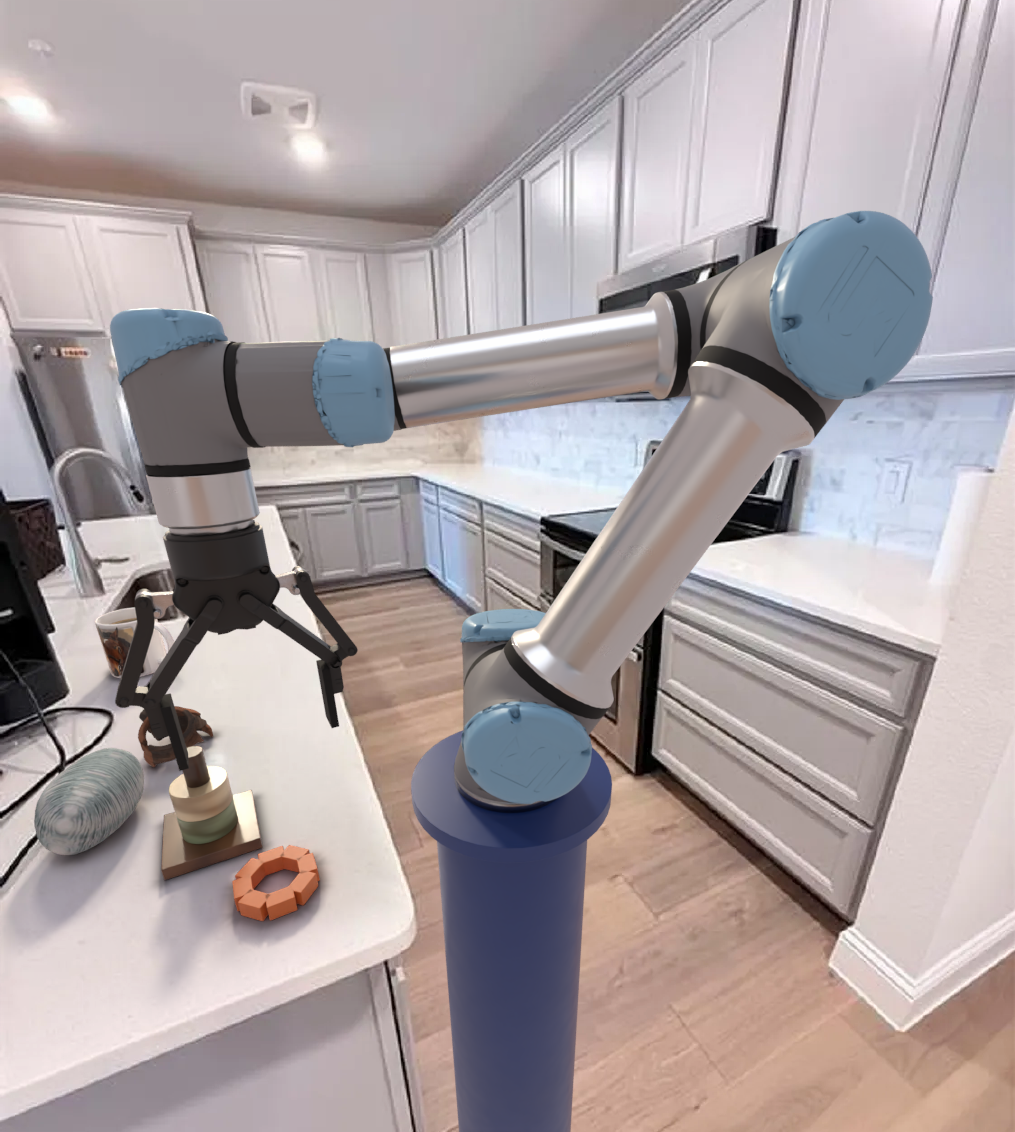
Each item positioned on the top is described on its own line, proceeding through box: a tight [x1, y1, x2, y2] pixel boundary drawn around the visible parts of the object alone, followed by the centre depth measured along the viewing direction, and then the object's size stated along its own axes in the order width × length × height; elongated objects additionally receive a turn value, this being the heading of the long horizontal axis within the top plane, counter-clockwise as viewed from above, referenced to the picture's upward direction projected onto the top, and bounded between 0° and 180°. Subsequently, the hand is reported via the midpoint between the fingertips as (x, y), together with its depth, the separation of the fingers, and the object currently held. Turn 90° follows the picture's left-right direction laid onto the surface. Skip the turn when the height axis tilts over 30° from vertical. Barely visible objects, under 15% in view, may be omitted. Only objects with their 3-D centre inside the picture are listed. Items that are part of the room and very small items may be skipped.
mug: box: [94, 606, 175, 679], centre depth 107 cm, size 10×12×11 cm
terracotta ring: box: [231, 844, 321, 922], centre depth 59 cm, size 8×8×2 cm
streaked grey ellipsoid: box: [33, 747, 145, 856], centre depth 67 cm, size 14×10×10 cm
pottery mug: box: [137, 705, 214, 768], centre depth 82 cm, size 12×10×8 cm
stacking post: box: [160, 745, 263, 881], centre depth 64 cm, size 10×10×12 cm
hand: (262, 740), depth 54 cm, fingers open, 13 cm apart
